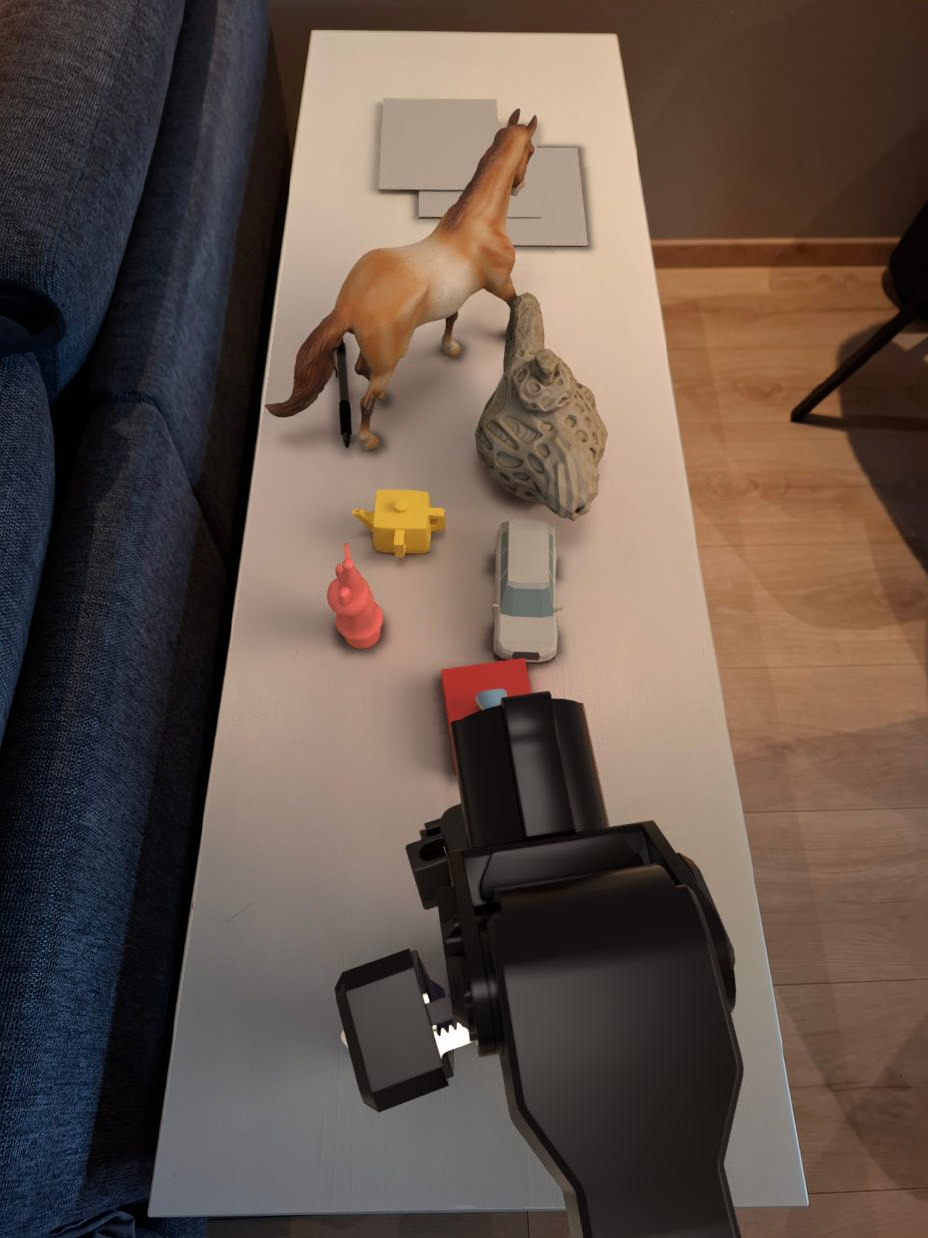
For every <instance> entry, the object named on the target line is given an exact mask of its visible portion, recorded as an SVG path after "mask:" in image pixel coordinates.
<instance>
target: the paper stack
mask: <svg viewBox="0 0 928 1238" xmlns="http://www.w3.org/2000/svg"><path fill="white" fill-rule="evenodd" d="M529 123H530V122H517V124H524V125H526V126H528V124H529ZM507 124H508V122H498V101H497V98H412V97H411V98H408V97H407V98H405V97H404V98H403V97H402V98H400V97H396V98H395V97H393V98H391V97H390V98H387V97H384V98H382V115H381V133H380V151H379V152H380V153H379V175H378V190H417V191H418V218H423V217H424V218H442V217H443V215H444V214H445V213H446V212H447V211H448V209H449V208H450V207H451V206H452V205H454V204H455V203H456V202H457V201H458V199H459V197H460V195H461V194H462V193H463V191H464V189H465V188H466V186H467V184H468V183H469V182H470V181H471V179H472V177H473V176H474V173H475V172H476V169H477V166H478V163H479V162H480V159H481V158H482V157H483V155H484V154H485V152H486V151H487V149H488V148H489V147H490V146H491V145H492V143H493V141H494V137H495V135H496V133H497V132H498V131H499V130H500V129H501V128H505V127H507ZM537 142H538V141H537V130H535V132H534V134H533V136H532V138H531V143H532V145H533V146H534V148H535V151H534V153H533V155H532V156H531V158H530V160H529V162H528V164H527V168H526V173H525V179H526V185H525V186H524V187H523V188H522V189H521V190H520V191H519V193H518V195H517V196H512V195H510V201H509V205H508V211H507V217H506V234H507V235H508V236H509V238H510V241H511V243H512V245H513V246H563V247H565V246H568V247H569V246H570V247H572V246H574V247H575V246H576V247H577V246H581V247H582V246H583V247H584V246H585V247H588V246H589V242H588V233H587V224H586V223H587V222H586V214H585V213H586V212H585V206H584V195H583V187H582V186H583V185H582V178H581V169H580V159H579V150H578V147H538V143H537Z"/></svg>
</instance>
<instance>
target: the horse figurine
mask: <svg viewBox="0 0 928 1238" xmlns="http://www.w3.org/2000/svg"><path fill="white" fill-rule="evenodd" d="M520 116H521V109H520V108H516V109H514V111H513V112H512V113H511V114H510V116H509V118H508V120H507V123H508V124H507V127H505V128H501V129H500V130H499V131H498V132H497V133H496V135H495V137H494V141H493V143H492V145H491V146H490V147H489V148H488V149H487V151H486V152H485V154H484V155H483V157H482V158H481V159H480V162H479V163H478V166H477V169H476V172H475V173H474V176H473V177H472V179H471V181H470V182H469V183H468V184H467V186H466V188H465V189H464V191H463V193H462V194H461V195H460V197H459V199H458V201H457V202H456V203H455V204H454V205H452V206H451V207H450V208H449V209H448V211H447V212H446V213H445V214H444V215H443V217H440V218H441V219H440V220H439V221H438V223H437V225H436V227H435V228H434V229H433V230H432V232H430V234H429V235H427V236H426V237H425V238H424V239H423V238H422V240H420V241H417V242H415V243H412V244H407V245H400V246H395V247H378V248H374V249H371V250H369V251H367V252H365V253H364V254H363V255H362V256H361V257H360V258H359V259H358V260H357V261H356V262H355V264H354V265H353V267H352V268H351V269H350V271H349V273H348V274H347V275H346V278H345V279H344V281H343V283H342V285H341V287H340V290H339V293H338V295H337V297H336V300H335V305H334V308H333V309H332V310H331V312H330V313H329V314H328V315H327V316H325V317H324V318H323V319H322V320H321V321H320V323H319V324H318V325H317V326H316V327H315V328H313V330H312V331H311V332H310V333H309V335H308V336H307V338H305V341H304V342H303V343H302V344H301V346H300V347H299V349H298V351H297V353H296V356H295V363H294V370H293V386H292V391H291V395H290V396H289V398H288V399H287V400H286V401H283V402H275V403H274V402H273V403H265V404H264V407H265V409H266V410H267V411H268V413H269V414H270V415H272V416H274V417H276V418H283V419H285V418H291V417H294V416H296V415H298V414H299V413H301V412H304V411H305V410H307V409H308V408H310V406H311V405H312V404H314V403H315V401H316V400H317V399H318V398H319V395H320V394H321V393H322V392H323V391H324V389H325V388H326V385H327V384H329V381H330V380H331V378H332V376H333V374H334V372H335V370H334V368H335V365H336V353H335V352H334V351H333V349H334V348H337V347H338V346H339V345H340V344H341V342H342V338H343V339H344V336H345V335H346V334H347V333H349V334H351V335H353V336H354V338H355V340H356V343H357V346H358V348H359V353H358V356H357V359H356V361H355V363H354V372H355V373H356V374H355V375H357V376H362V377H364V378H365V380H367V381H368V386H367V391H366V392H365V394H364V395H363V397H362V398H361V399H360V402H359V407H360V415H361V417H360V427H359V429H358V432H357V434H356V437H357V440H359V443H360V446H362V448H363V449H364V450H366V451H370V450H374V449H376V448H377V447H378V446H379V445H380V439H379V437H377V435H374V434H373V433H372V432H371V418H372V417H371V416H372V414H373V412H374V409H375V405H376V401H377V399H379V400H385V399H386V395H387V394H386V388H387V386H388V385H389V383H390V381H391V379H392V378H393V375H394V372H395V370H396V368H397V365H398V363H399V362H400V360H401V359H402V358H404V356H406V354H407V352H408V350H409V346H410V343H411V340H412V338H413V334H414V332H415V330H416V329H417V328H419V327H421V326H423V325H425V324H428V323H433V322H437V321H441V320H444V319H445V327H444V332H443V335H442V336H441V340H440V344H441V347H442V348H443V350H444V352H445V354H446V355H447V356H448V357H456V356H458V355H459V354H460V353H461V347H460V345H459V344H458V343H457V341H454V340H453V330H454V325H455V322H456V321H457V319H458V317H459V310H461V308H462V307H463V306H464V304H465V303H466V302H467V301H468V299H469V298H470V297H471V296H473V295H474V294H476V293H477V292H480V291H481V290H485V291H486V292H488V293H489V294H492V296H495V297H496V298H498V299H500V300H502V301H503V302H505V303H506V304H507V306H508V307H509V308H510V307H511V304H512V301H513V300H514V299H515V298H517V297H518V296H519V295H518V294H517V292H516V288H515V287H514V284H513V278H512V276H511V274H512V272H513V269H514V267H515V264H516V250H515V247H514V245H512V243H511V241H510V238H509V236H508V235H507V234H506V217H507V211H508V205H509V201H510V195H512V196H517V195H518V193H519V191H520V190H521V189H522V188H523V187H524V186H525V185H526V179H525V173H526V168H527V164H528V162H529V160H530V158H531V156H532V155H533V153H534V151H535V148H534V146H533V145H532V143H531V138H532V136H533V134H534V132H535V130H536V129H537V127H538V117H537V114H534V115H533V116H532V118H531V119H530V121H529V122H528V123H529V124H528V126H526V125H524V124H517V123H519V121H520ZM536 131H537V130H536ZM506 329H507V327H506V328H505V331H504V334H505V335H506Z"/></svg>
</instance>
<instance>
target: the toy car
mask: <svg viewBox="0 0 928 1238" xmlns="http://www.w3.org/2000/svg"><path fill="white" fill-rule="evenodd" d="M557 559H558V557H557V548H556V529H555V527H554V524H552V523H550V522H549V521H547V520H545V519H532V518H531V519H529V518H512V519H509V520H506V521H503V522H501V524H500V525H499V527H498V529H497V531H496V543H495V556H494V600H493V601H494V603H492V607H491V608H492V609H493V612H494V613H493V632H492V633H493V634H492V635H493V636H492V650H493V656H494V658H496V659H497V660H499V661H506V660H513V659H521V658H525V663H526V665H538V666H541V665H546V664H549V663H550V662H553V661H554V660H555V659H556V655H557V650H558V638H559V637H558V636H559V635H558V624H557V612H560V611H563V606H557V598H556V597H557V595H556V594H557V592H556V591H557V590H556V589H557V588H556V587H557V586H556V580H557V579H556V572H557Z"/></svg>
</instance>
